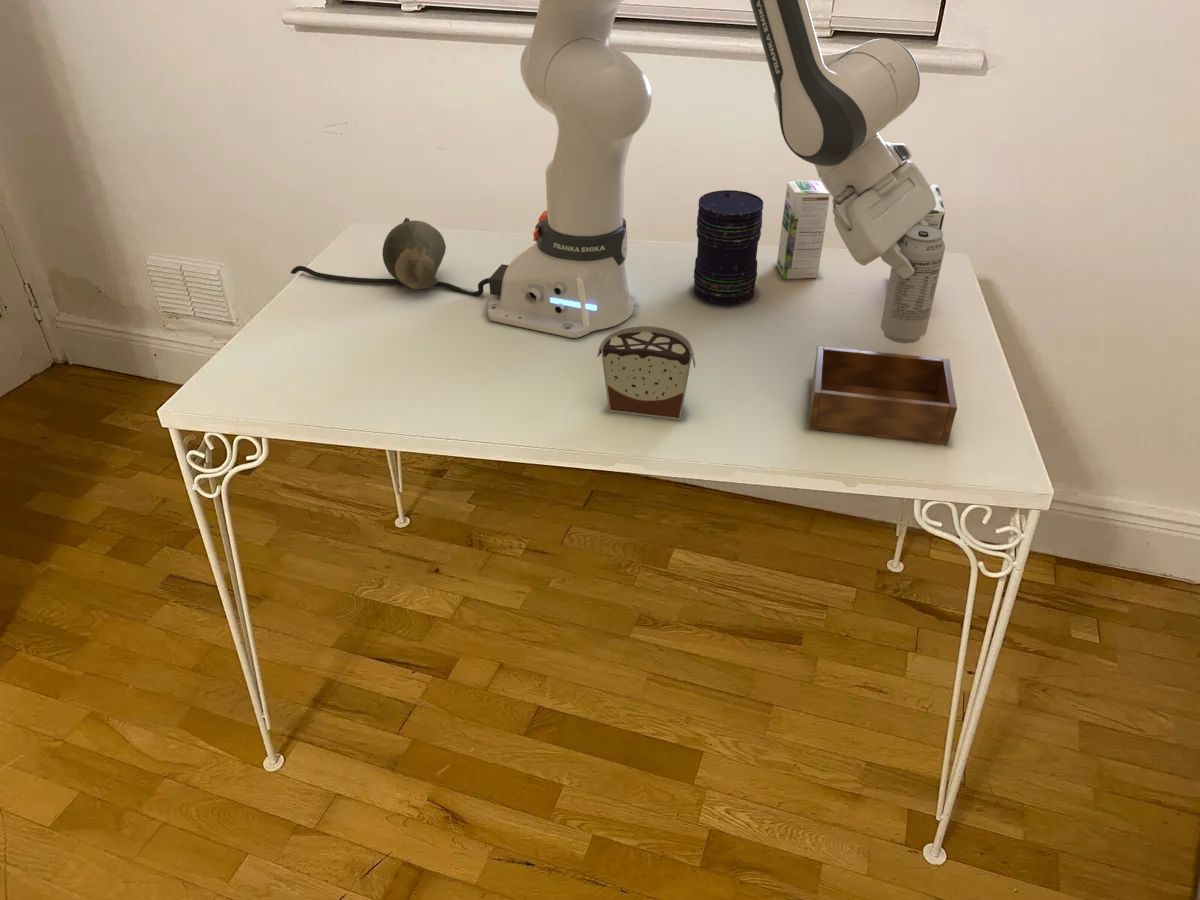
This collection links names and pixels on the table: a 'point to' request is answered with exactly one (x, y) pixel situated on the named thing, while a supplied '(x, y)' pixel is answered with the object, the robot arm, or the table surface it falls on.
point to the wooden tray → (882, 395)
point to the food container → (646, 371)
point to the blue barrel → (727, 247)
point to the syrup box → (802, 229)
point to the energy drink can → (913, 286)
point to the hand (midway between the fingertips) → (921, 264)
